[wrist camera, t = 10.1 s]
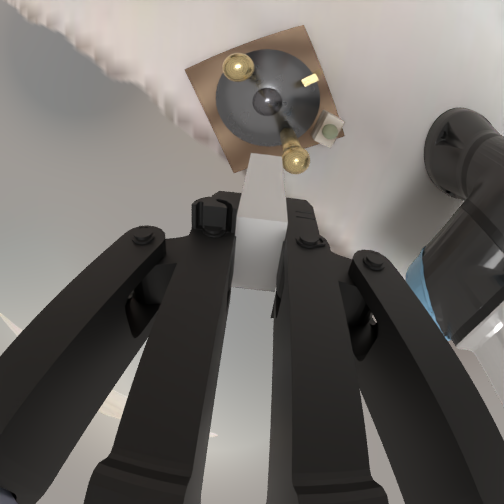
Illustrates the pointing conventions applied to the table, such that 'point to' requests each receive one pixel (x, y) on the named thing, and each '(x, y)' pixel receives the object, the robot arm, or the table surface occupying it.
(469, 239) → the robot arm
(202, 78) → the stand
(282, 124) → the brass post metal stand
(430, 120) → the table surface
